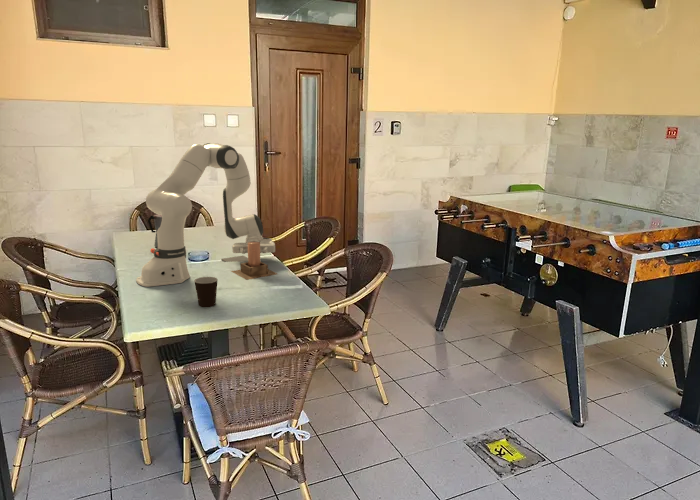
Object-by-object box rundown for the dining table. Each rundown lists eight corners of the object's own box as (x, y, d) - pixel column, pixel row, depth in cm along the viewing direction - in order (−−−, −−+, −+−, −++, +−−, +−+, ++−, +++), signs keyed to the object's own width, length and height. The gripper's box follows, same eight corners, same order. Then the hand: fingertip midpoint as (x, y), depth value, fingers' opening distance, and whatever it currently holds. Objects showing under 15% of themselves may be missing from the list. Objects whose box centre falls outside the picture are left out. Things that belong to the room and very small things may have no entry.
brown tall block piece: (248, 270, 244) (247, 241, 241) (260, 270, 245) (260, 241, 242) (247, 275, 237) (247, 245, 233) (260, 275, 238) (260, 245, 234)
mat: (231, 265, 257) (231, 264, 256) (221, 260, 266) (221, 258, 266) (253, 262, 264) (253, 260, 264) (243, 256, 273) (243, 255, 273)
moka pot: (179, 245, 295) (177, 210, 290) (156, 250, 282) (154, 213, 277) (168, 242, 300) (166, 208, 295) (145, 248, 287) (142, 211, 282)
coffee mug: (212, 309, 199) (211, 284, 196) (191, 307, 200) (190, 282, 198) (225, 299, 210) (224, 275, 207) (205, 297, 211) (204, 273, 209)
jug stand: (246, 282, 232) (246, 271, 230) (230, 273, 244) (230, 262, 243) (278, 276, 241) (278, 265, 240) (261, 268, 253) (261, 257, 252)
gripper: (232, 239, 257) (230, 245, 243) (274, 238, 260) (275, 244, 247) (232, 251, 258) (231, 258, 245) (274, 250, 262) (275, 257, 248)
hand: (253, 251), depth 246 cm, fingers open, 8 cm apart
